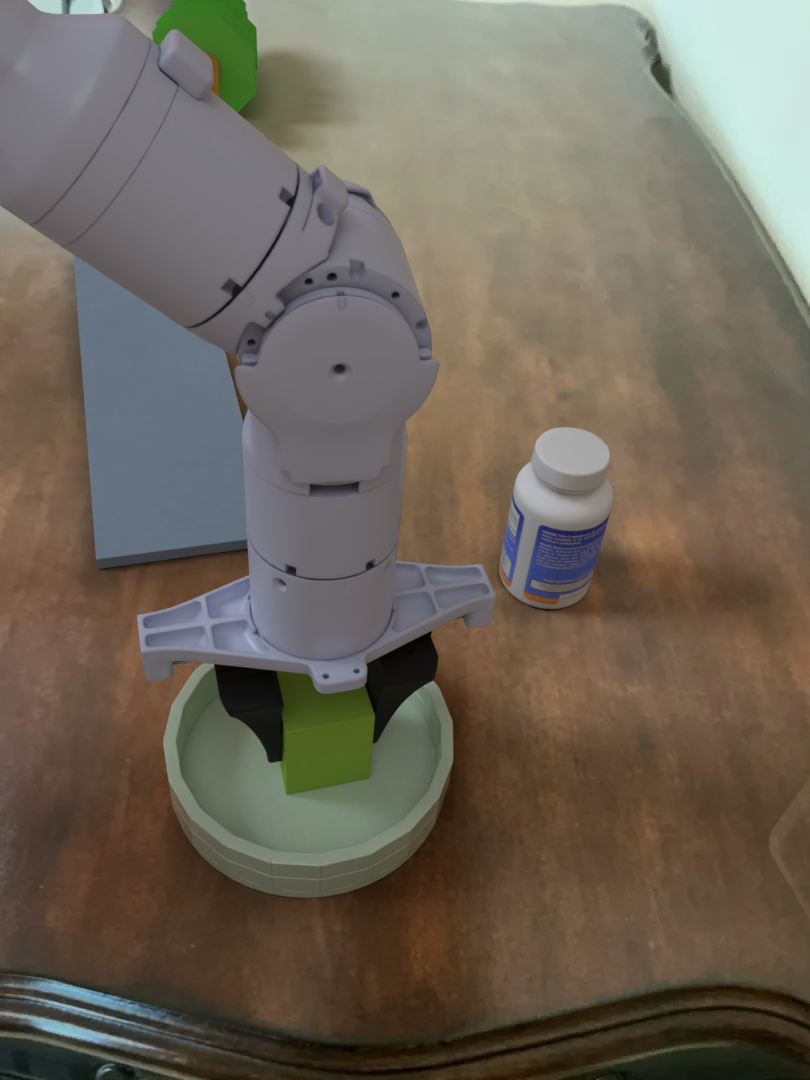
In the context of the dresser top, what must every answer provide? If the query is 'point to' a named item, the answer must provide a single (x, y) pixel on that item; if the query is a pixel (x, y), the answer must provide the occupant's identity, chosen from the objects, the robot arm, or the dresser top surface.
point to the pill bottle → (557, 519)
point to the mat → (156, 431)
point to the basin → (304, 797)
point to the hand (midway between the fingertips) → (319, 735)
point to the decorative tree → (218, 43)
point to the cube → (323, 735)
